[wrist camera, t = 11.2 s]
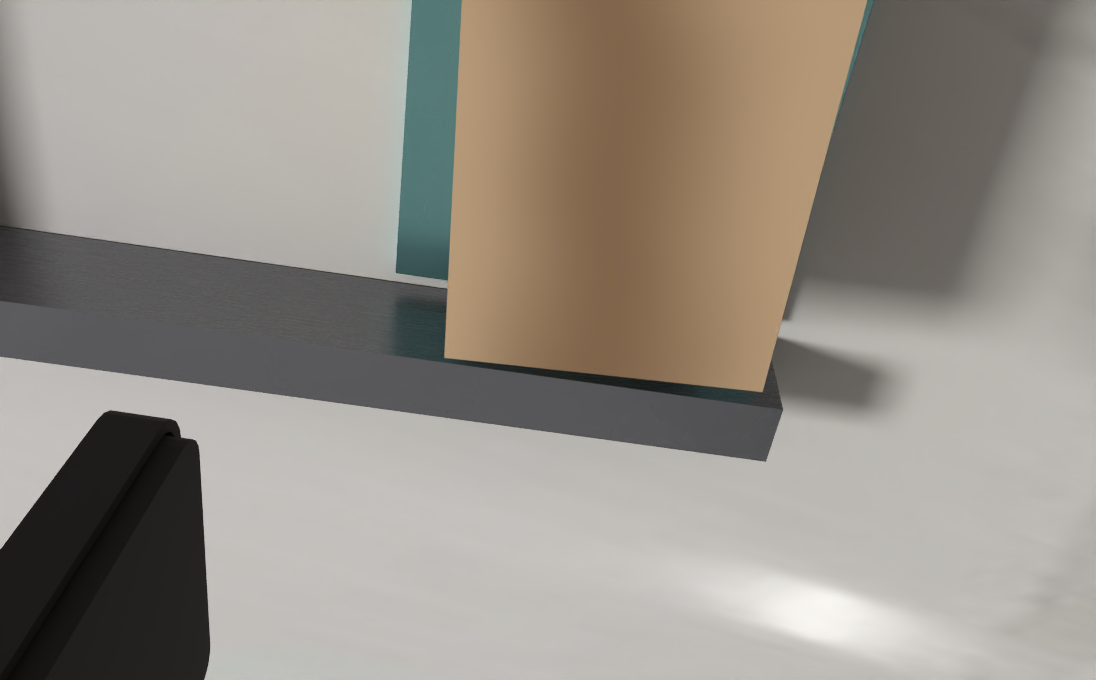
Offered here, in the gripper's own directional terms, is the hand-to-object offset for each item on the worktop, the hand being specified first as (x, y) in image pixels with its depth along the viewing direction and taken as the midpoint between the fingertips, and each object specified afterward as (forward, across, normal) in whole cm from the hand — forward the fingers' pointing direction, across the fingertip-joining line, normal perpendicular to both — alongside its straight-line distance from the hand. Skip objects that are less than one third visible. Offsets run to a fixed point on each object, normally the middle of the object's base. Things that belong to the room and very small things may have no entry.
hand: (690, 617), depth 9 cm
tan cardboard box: (+14, +1, -1) cm, 14 cm away
